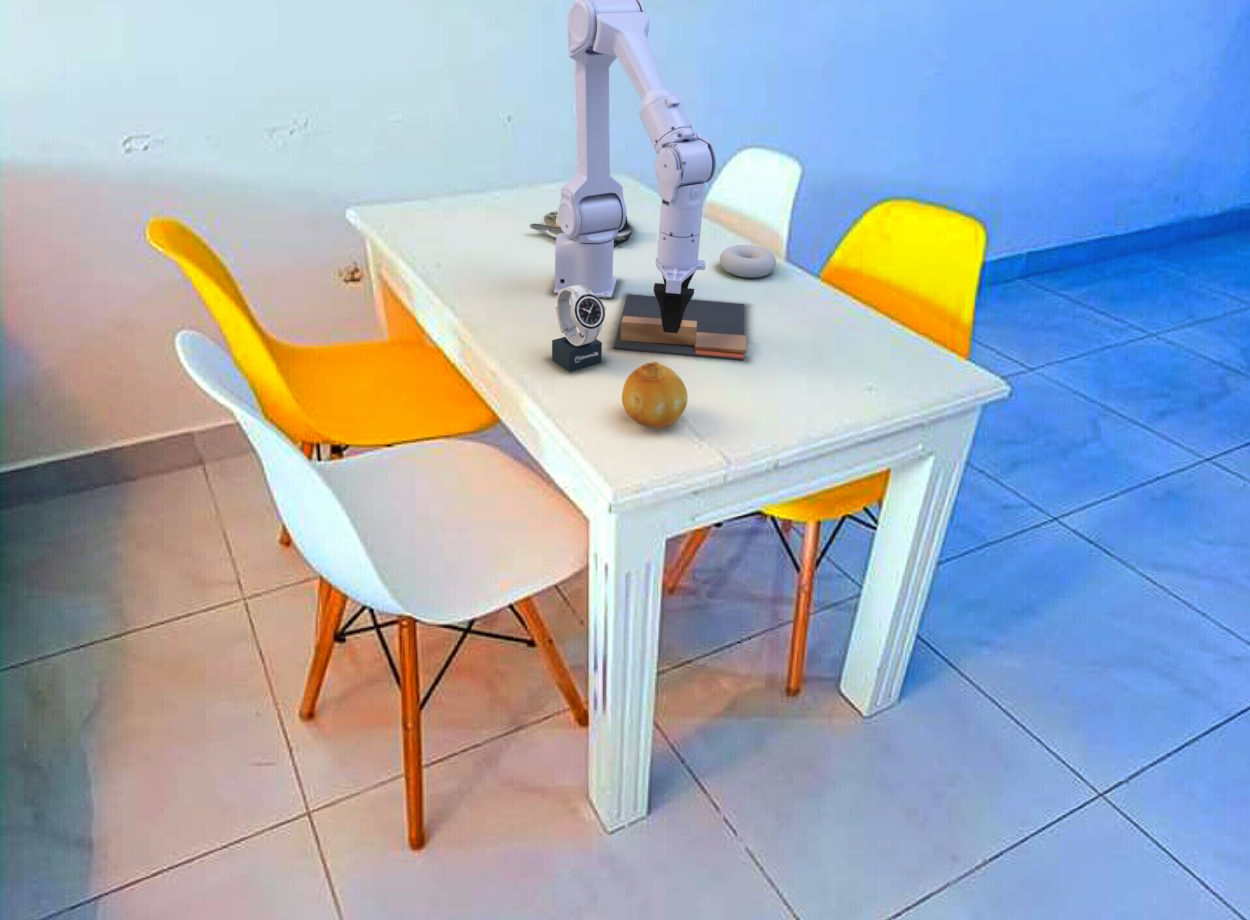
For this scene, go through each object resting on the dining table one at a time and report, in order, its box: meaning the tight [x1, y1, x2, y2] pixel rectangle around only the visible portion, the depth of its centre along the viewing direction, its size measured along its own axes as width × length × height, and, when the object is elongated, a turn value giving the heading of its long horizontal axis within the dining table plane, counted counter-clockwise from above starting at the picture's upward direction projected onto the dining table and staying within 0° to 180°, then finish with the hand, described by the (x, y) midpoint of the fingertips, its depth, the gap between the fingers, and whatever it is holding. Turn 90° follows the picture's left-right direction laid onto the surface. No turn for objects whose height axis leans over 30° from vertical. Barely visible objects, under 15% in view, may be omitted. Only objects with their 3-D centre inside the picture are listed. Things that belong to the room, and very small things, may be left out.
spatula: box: [621, 316, 748, 354], centre depth 135 cm, size 18×5×3 cm, turn 84°
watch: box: [551, 285, 607, 373], centre depth 127 cm, size 6×8×11 cm
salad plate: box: [529, 210, 633, 245], centre depth 173 cm, size 19×18×5 cm
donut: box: [719, 244, 777, 279], centre depth 161 cm, size 10×4×10 cm
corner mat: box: [612, 293, 745, 361], centre depth 141 cm, size 19×20×1 cm
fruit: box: [621, 361, 689, 429], centre depth 115 cm, size 8×8×8 cm
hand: (672, 320), depth 134 cm, fingers open, 7 cm apart
